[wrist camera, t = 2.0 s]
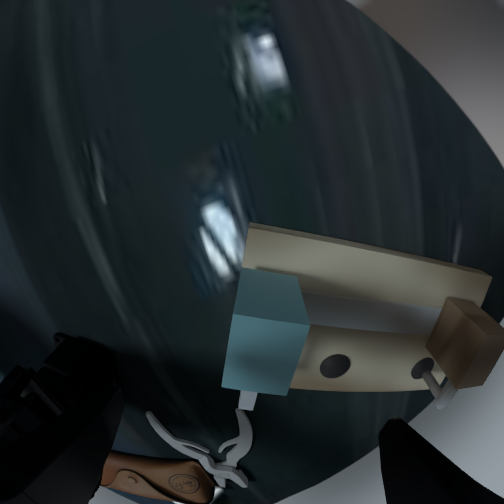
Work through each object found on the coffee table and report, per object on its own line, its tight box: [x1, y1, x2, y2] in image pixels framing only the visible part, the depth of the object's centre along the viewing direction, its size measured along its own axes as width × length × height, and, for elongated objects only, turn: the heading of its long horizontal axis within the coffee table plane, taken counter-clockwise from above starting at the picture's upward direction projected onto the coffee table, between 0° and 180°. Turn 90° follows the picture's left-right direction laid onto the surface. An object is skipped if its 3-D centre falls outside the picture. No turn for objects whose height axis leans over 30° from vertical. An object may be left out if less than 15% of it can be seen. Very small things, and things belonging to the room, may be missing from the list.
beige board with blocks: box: [242, 222, 504, 409], centre depth 15 cm, size 11×19×7 cm, turn 80°
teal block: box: [221, 267, 310, 411], centre depth 14 cm, size 7×3×5 cm, turn 170°
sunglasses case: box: [100, 450, 215, 504], centre depth 25 cm, size 18×7×7 cm, turn 100°
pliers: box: [146, 408, 253, 488], centre depth 24 cm, size 10×2×15 cm
